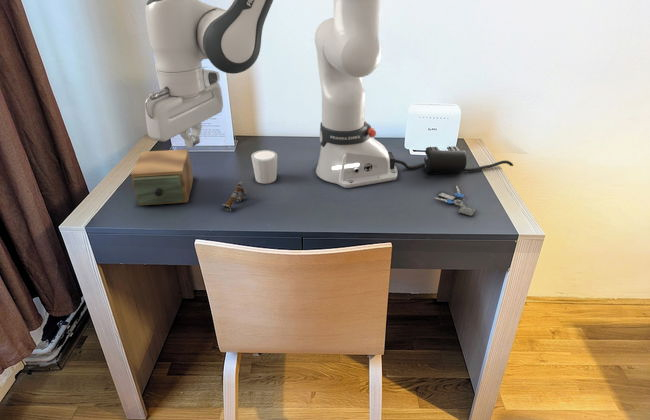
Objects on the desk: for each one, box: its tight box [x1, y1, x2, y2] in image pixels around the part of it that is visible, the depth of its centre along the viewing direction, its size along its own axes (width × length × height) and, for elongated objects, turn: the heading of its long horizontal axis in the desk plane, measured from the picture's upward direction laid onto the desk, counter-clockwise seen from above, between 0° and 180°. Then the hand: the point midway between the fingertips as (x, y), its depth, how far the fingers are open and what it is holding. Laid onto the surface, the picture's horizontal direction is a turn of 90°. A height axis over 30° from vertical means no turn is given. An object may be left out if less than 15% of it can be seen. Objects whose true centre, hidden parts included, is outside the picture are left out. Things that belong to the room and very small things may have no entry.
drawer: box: [132, 174, 185, 206], centre depth 106 cm, size 13×10×7 cm
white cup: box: [250, 149, 278, 184], centre depth 114 cm, size 7×7×7 cm
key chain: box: [434, 185, 476, 217], centre depth 106 cm, size 14×8×1 cm, turn 6°
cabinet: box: [130, 148, 194, 206], centre depth 108 cm, size 13×12×9 cm
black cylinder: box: [423, 146, 468, 175], centre depth 118 cm, size 10×7×7 cm
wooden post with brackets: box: [221, 181, 247, 212], centre depth 105 cm, size 2×8×4 cm, turn 155°
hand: (193, 144), depth 94 cm, fingers closed
